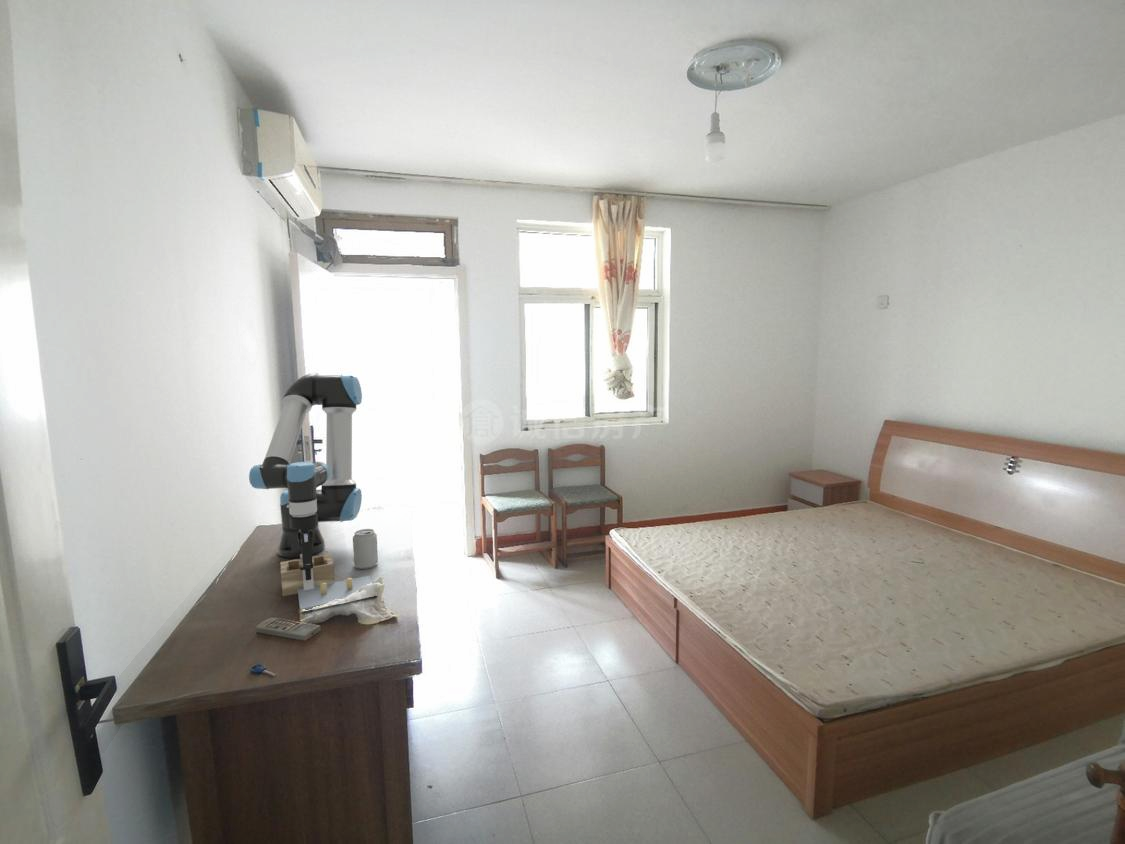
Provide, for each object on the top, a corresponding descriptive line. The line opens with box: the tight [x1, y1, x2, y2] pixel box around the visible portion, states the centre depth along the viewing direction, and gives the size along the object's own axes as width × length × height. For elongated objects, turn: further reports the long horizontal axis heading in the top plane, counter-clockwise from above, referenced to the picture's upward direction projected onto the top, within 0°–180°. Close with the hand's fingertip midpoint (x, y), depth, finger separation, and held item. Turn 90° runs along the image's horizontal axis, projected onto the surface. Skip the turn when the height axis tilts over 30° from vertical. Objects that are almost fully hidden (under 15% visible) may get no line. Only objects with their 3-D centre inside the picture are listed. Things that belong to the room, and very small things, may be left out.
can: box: [352, 528, 379, 570], centre depth 173 cm, size 8×8×12 cm
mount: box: [297, 575, 373, 613], centre depth 152 cm, size 14×20×4 cm
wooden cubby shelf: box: [280, 553, 335, 597], centre depth 159 cm, size 10×14×7 cm
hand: (307, 581), depth 159 cm, fingers open, 13 cm apart
